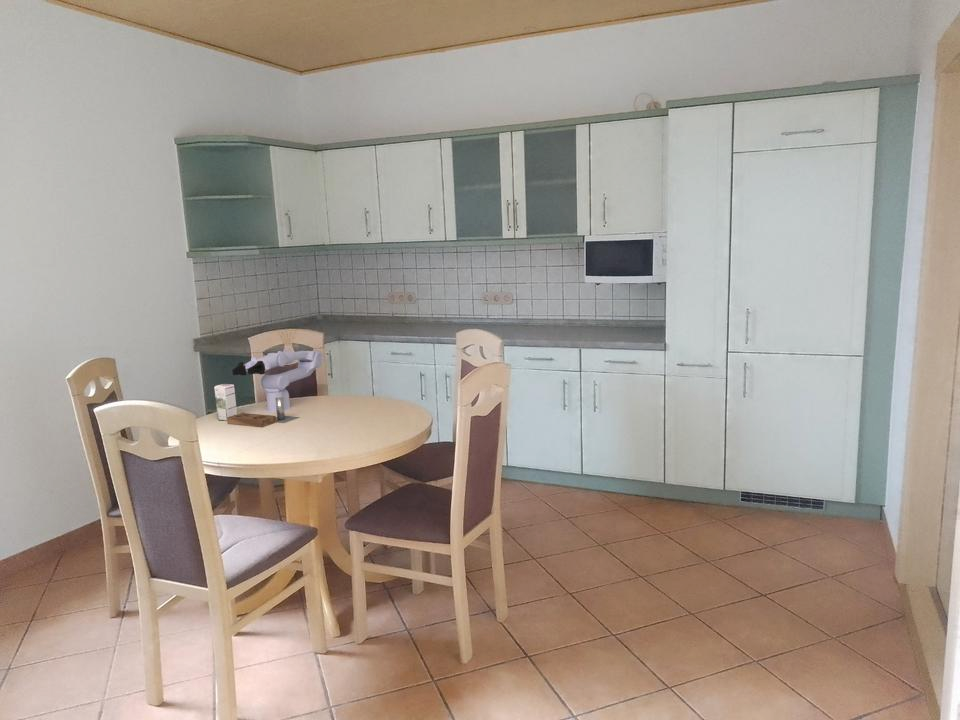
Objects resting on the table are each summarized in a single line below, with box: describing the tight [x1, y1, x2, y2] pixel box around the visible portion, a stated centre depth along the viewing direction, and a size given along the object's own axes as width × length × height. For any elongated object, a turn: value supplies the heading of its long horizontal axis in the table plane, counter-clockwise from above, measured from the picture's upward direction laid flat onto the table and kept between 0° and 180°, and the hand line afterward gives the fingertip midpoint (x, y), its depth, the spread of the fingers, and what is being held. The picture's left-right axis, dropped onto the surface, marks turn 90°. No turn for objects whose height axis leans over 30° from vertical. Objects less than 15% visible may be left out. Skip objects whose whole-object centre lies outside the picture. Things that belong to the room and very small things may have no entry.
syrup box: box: [213, 383, 238, 422], centre depth 289 cm, size 6×6×14 cm
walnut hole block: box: [226, 412, 277, 429], centre depth 281 cm, size 8×18×3 cm, turn 65°
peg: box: [275, 397, 286, 421], centre depth 284 cm, size 3×3×9 cm
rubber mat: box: [275, 415, 301, 424], centre depth 285 cm, size 10×10×1 cm
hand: (240, 372), depth 281 cm, fingers open, 7 cm apart
